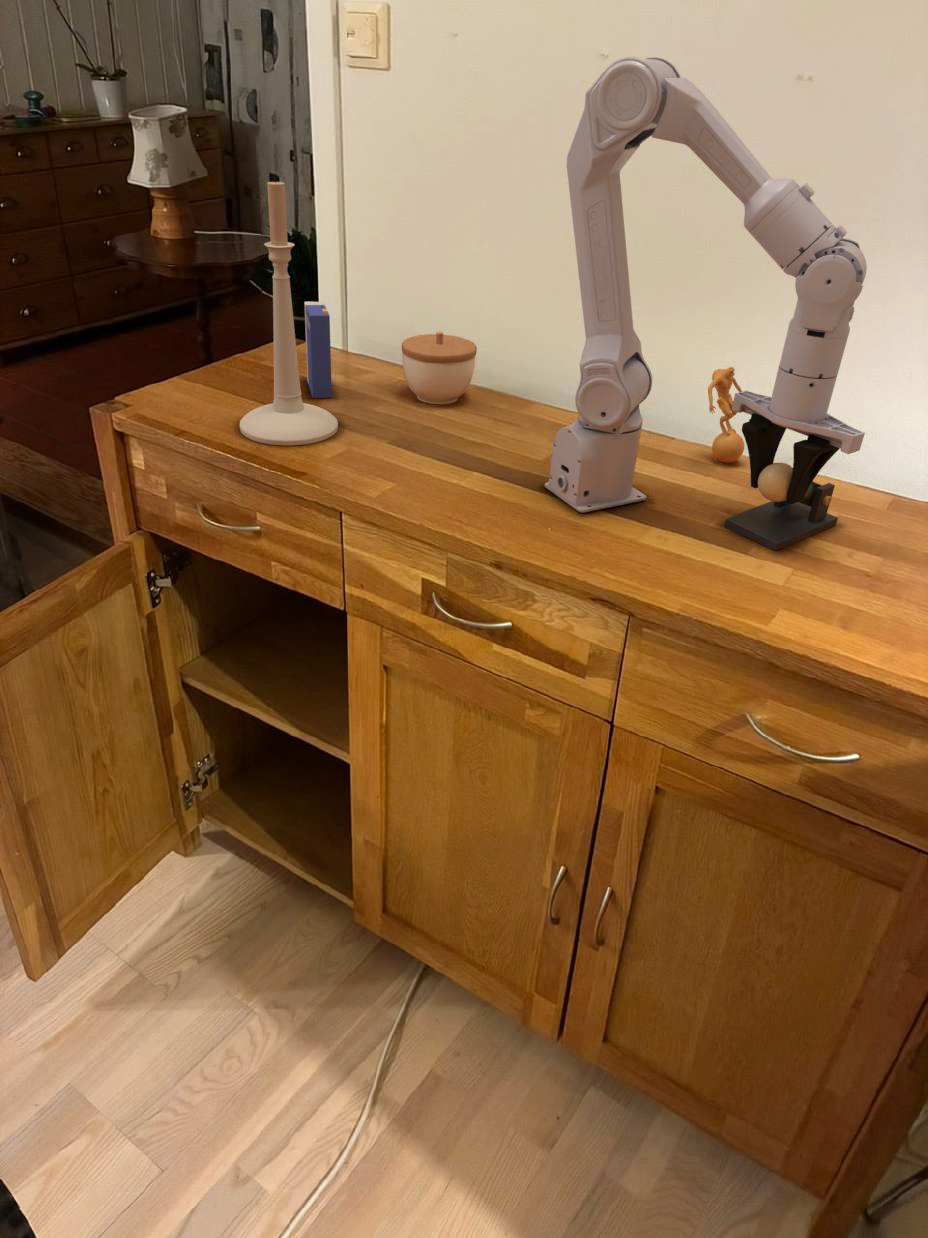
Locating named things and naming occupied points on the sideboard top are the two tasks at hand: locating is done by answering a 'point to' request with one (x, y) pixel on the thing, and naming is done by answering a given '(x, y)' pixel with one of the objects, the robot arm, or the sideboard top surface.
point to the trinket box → (438, 366)
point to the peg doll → (781, 483)
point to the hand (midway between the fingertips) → (776, 493)
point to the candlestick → (285, 354)
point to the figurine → (725, 417)
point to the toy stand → (785, 520)
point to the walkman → (318, 349)
